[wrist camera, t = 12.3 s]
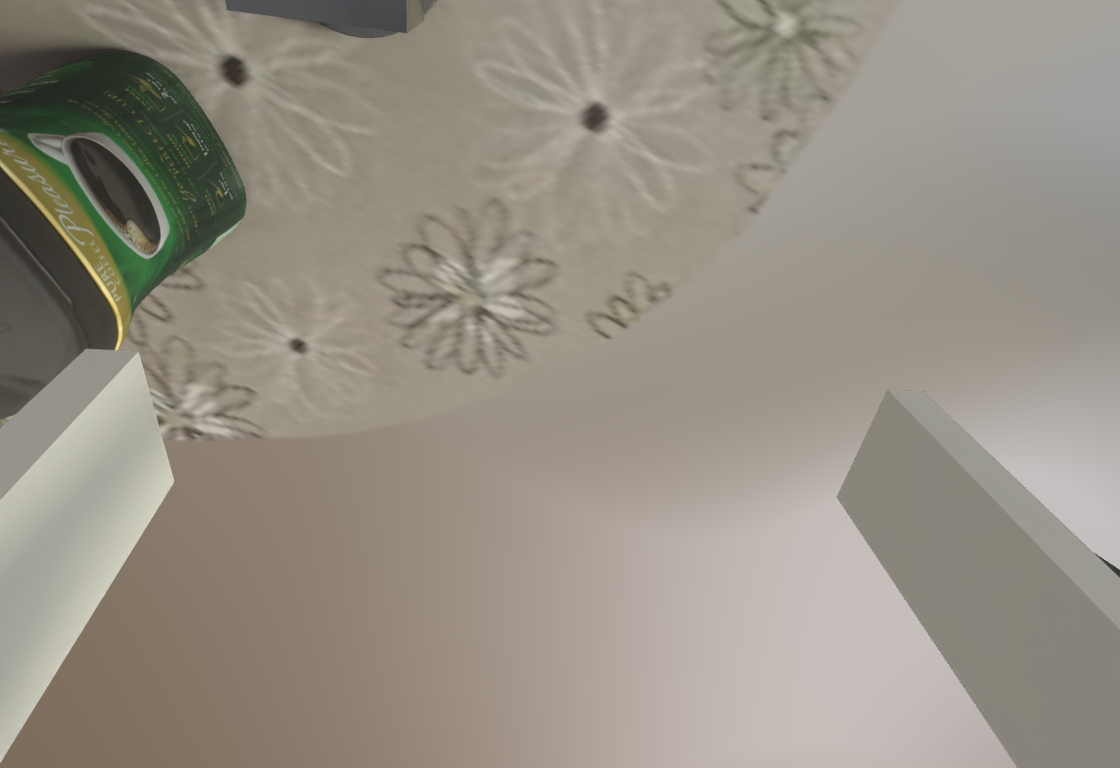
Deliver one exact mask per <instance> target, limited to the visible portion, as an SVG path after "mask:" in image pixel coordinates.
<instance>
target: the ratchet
mask: <svg viewBox="0 0 1120 768" xmlns="http://www.w3.org/2000/svg"><path fill="white" fill-rule="evenodd" d="M436 1H437V0H424V15H425V14H426V13H427V12H428V11H429V10H430V9H431V8H432V6H433V5H434V4H435V2H436ZM319 23H320V24H322V25H324V26H326V27H328V28H330V29H332V30H334V31H336V32H339V33H342V34H345V35H349V36H354V37H360V38H376V37H384V36H388V35H392V34H395V33H397V32H395V31H387V30H379V29H371V28H363V27H355V26H348V25H340V24H332V23H324V22H319Z"/></svg>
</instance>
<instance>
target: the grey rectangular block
mask: <svg viewBox="0 0 1120 768" xmlns="http://www.w3.org/2000/svg"><path fill="white" fill-rule="evenodd" d="M226 6H227V10H230V11H238V12H246V13H254V14H261V15H269V16H277V17H285V18H293V19H301V20H308V21H316V22H324V23H332V24H340V25H348V26H355V27H363V28H371V29H379V30H387V31H395V32H402V33H407V32H409V31H410V30H412V29H413V28H414V27H416V26H417V25H418V24H420V23H421V22H422V21H424V0H226Z"/></svg>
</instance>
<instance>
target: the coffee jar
mask: <svg viewBox="0 0 1120 768" xmlns="http://www.w3.org/2000/svg"><path fill="white" fill-rule="evenodd" d="M245 209H246V194H245V190H244V186H243V183H242V180H241V178H240V176H239V174H238V172H237V169H236V167H235V165H234V163H233V161H232V159H231V157H230V155H229V153H228V151H227V149H226V147H225V145H224V144H223V142H222V141H221V139H220V137H219V135H218V134H217V132H216V130H215V129H214V127H213V125H212V124H211V122H210V121H209V119H208V118H207V116H206V114H205V113H204V111H203V110H202V108H201V107H200V106H199V104H198V103H197V102H196V100H195V99H194V97H193V96H192V95H191V93H190V92H189V91H188V89H187V88H186V87H185V86H184V84H183V83H182V82H181V81H180V80H179V79H178V77H177V76H176V75H175V74H173V73H172V72H171V71H170V70H169V69H168V68H166V67H165V66H163V65H162V64H160V63H159V62H157V61H155V60H153V59H151V58H149V57H147V56H144V55H140V54H137V53H131V52H112V53H106V54H101V55H97V56H93V57H89V58H86V59H82V60H79V61H75V62H72V63H69V64H66V65H64V66H61V67H58V68H55V69H53V70H51V71H49V72H47V73H45V74H43V75H41V76H39V77H36V78H34V79H33V80H31V81H29V82H27V83H25V84H23V85H21V86H19V87H17V88H15V89H13V90H11V91H9V92H7V93H5V94H3V95H1V96H0V419H3V418H6V417H9V416H12V415H15V414H16V413H18V412H19V411H20V410H21V409H22V408H23V407H24V406H25V405H26V404H27V403H28V402H29V401H30V400H32V399H33V398H34V397H35V396H36V395H37V394H38V393H39V392H40V391H41V390H42V389H43V388H44V387H46V386H47V385H48V384H49V383H50V382H51V381H52V380H53V379H54V378H55V377H56V376H57V375H58V374H60V373H61V372H62V371H63V370H64V369H65V368H66V367H67V366H68V365H69V364H70V363H71V362H72V361H74V360H75V359H76V358H77V357H78V356H79V355H80V354H81V353H82V352H83V351H84V350H85V349H99V350H119V348H120V347H121V345H122V343H123V342H124V340H125V338H126V335H127V333H128V330H129V326H130V323H131V319H132V316H133V313H134V311H135V309H136V307H137V306H138V305H139V304H140V303H141V302H142V300H143V299H144V298H145V297H146V296H147V295H148V294H149V293H150V292H151V291H152V290H153V289H154V288H155V287H156V286H158V285H159V284H160V283H161V282H163V281H164V280H165V279H166V278H168V277H169V276H170V275H172V274H173V273H175V272H176V271H177V270H179V269H180V268H182V267H183V266H185V265H186V264H188V263H189V262H191V261H192V260H194V259H195V258H197V257H198V256H200V255H201V254H203V253H204V252H206V251H207V250H209V249H210V248H211V247H213V246H214V245H216V244H217V243H219V242H220V241H221V240H222V239H224V238H225V237H226V236H227V235H228V234H230V233H231V232H232V231H233V230H234V229H235V227H236V226H237V225H238V224H239V223H240V222H241V220H242V218H243V216H244V214H245Z"/></svg>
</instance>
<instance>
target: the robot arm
mask: <svg viewBox="0 0 1120 768" xmlns="http://www.w3.org/2000/svg"><path fill="white" fill-rule="evenodd" d="M173 483H174V479H173V475H172V472H171V468H170V465H169V461H168V457H167V454H166V450H165V446H164V443H163V439H162V435H161V432H160V428H159V424H158V421H157V417H156V413H155V410H154V406H153V402H152V399H151V395H150V392H149V388H148V384H147V381H146V377H145V373H144V370H143V366H142V362H141V359H140V355H139V351H119V350H99V349H85V350H84V351H83V352H82V353H81V354H80V355H79V356H78V357H77V358H76V359H75V360H74V361H72V362H71V363H70V364H69V365H68V366H67V367H66V368H65V369H64V370H63V371H62V372H61V373H60V374H58V375H57V376H56V377H55V378H54V379H53V380H52V381H51V382H50V383H49V384H48V385H47V386H46V387H44V388H43V389H42V390H41V391H40V392H39V393H38V394H37V395H36V396H35V397H34V398H33V399H32V400H30V401H29V402H28V403H27V404H26V405H25V406H24V407H23V408H22V409H21V410H20V411H19V412H18V413H16V414H15V415H14V416H13V417H12V418H11V419H10V420H9V421H8V422H7V423H6V424H5V425H4V426H2V427H1V428H0V762H1V761H2V759H3V757H4V756H5V754H6V753H7V751H8V749H9V748H10V746H11V744H12V743H13V741H14V740H15V738H16V736H17V735H18V733H19V732H20V730H21V728H22V727H23V725H24V723H25V722H26V720H27V719H28V717H29V715H30V714H31V712H32V711H33V709H34V707H35V706H36V704H37V703H38V701H39V699H40V698H41V696H42V695H43V693H44V691H45V690H46V688H47V686H48V685H49V683H50V682H51V680H52V678H53V677H54V675H55V674H56V672H57V670H58V669H59V667H60V665H61V664H62V662H63V660H64V659H65V657H66V656H67V654H68V653H69V651H70V649H71V648H72V646H73V644H74V643H75V641H76V640H77V638H78V636H79V635H80V633H81V632H82V630H83V628H84V627H85V625H86V623H87V622H88V620H89V619H90V617H91V615H92V614H93V612H94V611H95V609H96V607H97V605H98V604H99V602H100V600H101V599H102V598H103V596H104V594H105V593H106V591H107V590H108V588H109V586H110V585H111V583H112V581H113V580H114V578H115V577H116V575H117V573H118V572H119V570H120V569H121V567H122V565H123V564H124V562H125V561H126V559H127V557H128V555H129V554H130V552H131V551H132V549H133V548H134V546H135V544H136V543H137V541H138V539H139V538H140V536H141V535H142V533H143V531H144V530H145V528H146V527H147V525H148V523H149V522H150V520H151V519H152V517H153V515H154V514H155V512H156V510H157V509H158V507H159V506H160V504H161V502H162V500H163V499H164V497H165V496H166V494H167V493H168V491H169V490H170V488H171V486H172V485H173ZM837 498H838V499H839V501H840V503H841V504H842V506H843V507H844V509H845V510H846V512H847V513H848V515H849V516H850V518H851V519H852V521H853V522H854V524H855V525H856V527H857V528H858V530H859V531H860V533H861V534H862V536H863V537H864V538H865V540H866V542H867V543H868V545H869V546H870V548H871V549H872V551H873V552H874V554H875V555H876V557H877V558H878V560H879V561H880V563H881V564H882V566H883V567H884V569H885V570H886V572H887V573H888V575H889V576H890V578H891V579H892V581H893V582H894V583H895V585H896V587H897V588H898V590H899V591H900V593H901V594H902V596H903V597H904V599H905V600H906V601H907V603H908V605H909V606H910V608H911V609H912V611H913V612H914V614H915V615H916V617H917V618H918V620H919V621H920V622H921V624H922V625H923V627H924V629H925V630H926V631H927V633H928V634H929V636H930V637H931V639H932V640H933V642H934V643H935V645H936V646H937V648H938V649H939V651H940V652H941V654H942V655H943V657H944V658H945V660H946V661H947V663H948V664H949V666H950V667H951V669H952V670H953V672H954V673H955V675H956V676H957V678H958V679H959V681H960V682H961V684H962V685H963V687H964V688H965V690H966V691H967V693H968V694H969V696H970V697H971V699H972V700H973V702H974V703H975V704H976V706H977V708H978V709H979V711H980V712H981V714H982V715H983V717H984V718H985V720H986V721H987V723H988V724H989V726H990V727H991V729H992V730H993V732H994V733H995V735H996V736H997V738H998V739H999V741H1000V742H1001V744H1002V745H1003V747H1004V748H1005V750H1006V751H1007V753H1008V754H1009V755H1010V757H1011V759H1012V760H1013V761H1014V763H1015V764H1016V766H1017V768H1120V570H1119V569H1118V568H1116V567H1115V566H1113V565H1112V564H1110V563H1108V562H1107V561H1105V560H1104V559H1103V558H1101V557H1100V556H1098V555H1097V554H1095V553H1094V552H1092V551H1091V550H1090V549H1089V548H1088V547H1087V546H1086V545H1085V544H1084V543H1083V542H1082V541H1081V540H1080V539H1079V538H1078V537H1077V536H1075V535H1074V534H1073V533H1072V532H1071V531H1070V530H1069V529H1068V528H1067V527H1066V526H1065V525H1064V524H1063V523H1062V522H1061V521H1060V520H1059V519H1058V518H1057V517H1055V515H1053V514H1052V513H1051V512H1050V511H1049V510H1048V509H1047V508H1046V507H1045V506H1044V505H1043V504H1042V503H1041V502H1040V501H1039V500H1038V499H1037V498H1036V497H1035V496H1034V495H1032V494H1031V493H1030V492H1029V491H1028V490H1027V489H1026V488H1025V487H1024V486H1023V485H1022V484H1021V483H1020V482H1019V481H1018V480H1017V479H1016V478H1015V477H1013V476H1012V475H1011V474H1010V473H1009V472H1008V471H1007V470H1006V469H1005V468H1004V467H1003V466H1002V465H1001V464H1000V463H999V462H998V461H997V460H996V459H995V458H994V457H993V456H991V455H990V454H989V453H988V452H987V451H986V450H985V449H984V448H983V447H982V446H981V445H980V444H979V443H978V442H977V441H976V440H975V439H974V438H973V437H972V436H970V434H968V433H967V432H966V431H965V430H964V429H963V428H962V427H961V426H960V425H959V424H958V423H957V422H956V421H955V420H954V419H953V418H952V417H950V416H949V414H947V413H946V412H945V411H944V410H943V409H942V408H941V407H940V406H939V405H938V404H937V403H936V402H935V401H934V400H933V399H932V398H931V397H930V396H929V395H928V394H927V393H925V392H924V391H912V390H891V389H887V391H886V394H885V396H884V398H883V400H882V402H881V404H880V406H879V409H878V411H877V413H876V415H875V417H874V419H873V421H872V423H871V426H870V428H869V430H868V432H867V434H866V436H865V438H864V440H863V442H862V444H861V447H860V449H859V451H858V453H857V455H856V457H855V459H854V462H853V464H852V466H851V468H850V470H849V472H848V474H847V476H846V479H845V481H844V483H843V485H842V487H841V489H840V491H839V493H838V496H837Z"/></svg>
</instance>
